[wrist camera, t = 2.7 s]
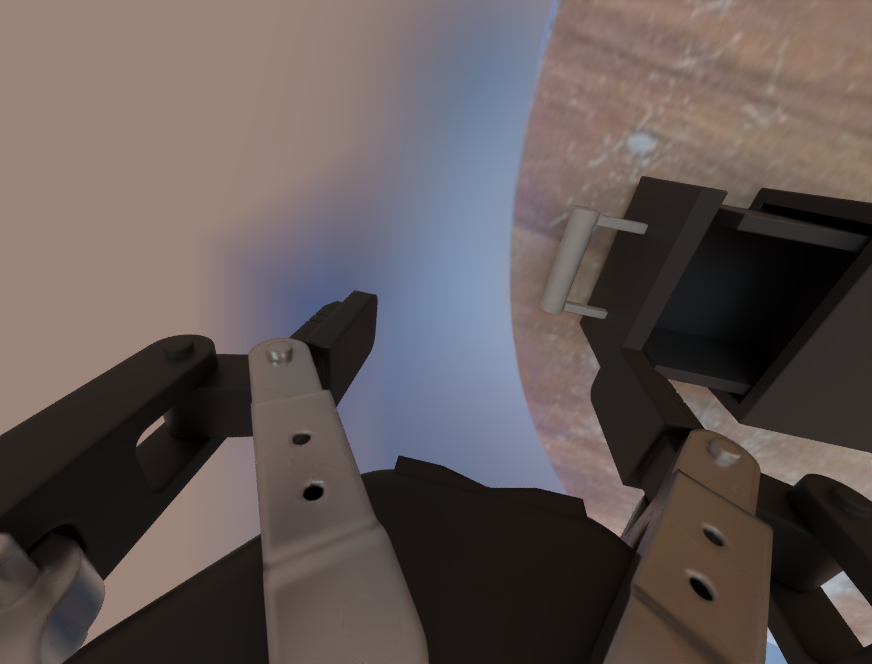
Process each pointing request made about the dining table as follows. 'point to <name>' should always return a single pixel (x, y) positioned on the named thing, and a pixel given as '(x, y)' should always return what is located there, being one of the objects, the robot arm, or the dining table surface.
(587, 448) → the dining table surface
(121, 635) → the robot arm
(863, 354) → the drawer cabinet
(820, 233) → the dark brown drawer
